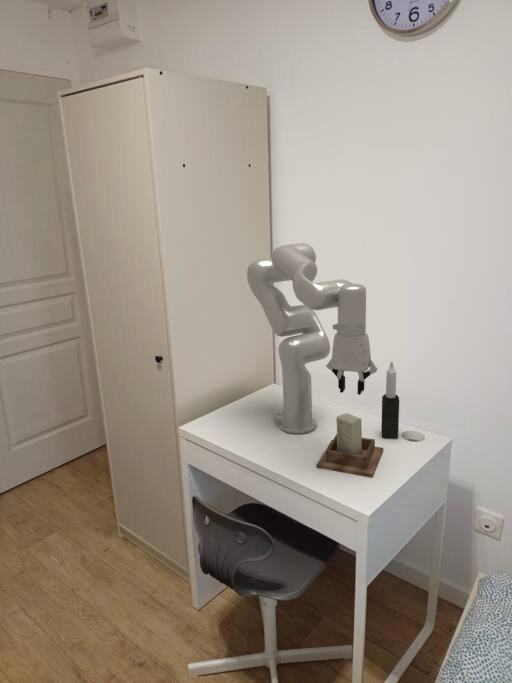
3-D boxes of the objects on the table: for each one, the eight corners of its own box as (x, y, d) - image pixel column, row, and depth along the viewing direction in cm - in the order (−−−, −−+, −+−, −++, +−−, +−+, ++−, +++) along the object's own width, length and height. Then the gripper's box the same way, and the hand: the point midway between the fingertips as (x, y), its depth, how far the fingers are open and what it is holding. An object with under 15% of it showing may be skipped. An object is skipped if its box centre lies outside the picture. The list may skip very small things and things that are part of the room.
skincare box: (362, 457, 146) (362, 418, 143) (351, 462, 144) (352, 423, 140) (346, 449, 151) (346, 412, 148) (335, 454, 149) (335, 416, 145)
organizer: (316, 467, 144) (316, 453, 143) (331, 442, 158) (331, 429, 157) (372, 477, 137) (372, 462, 136) (383, 450, 151) (383, 437, 150)
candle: (398, 439, 158) (400, 364, 151) (381, 438, 159) (383, 363, 152) (397, 432, 163) (399, 358, 156) (381, 431, 164) (382, 358, 157)
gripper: (317, 331, 137) (318, 393, 142) (380, 335, 130) (378, 400, 135) (325, 324, 143) (326, 384, 148) (385, 328, 137) (383, 390, 142)
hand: (351, 391), depth 142 cm, fingers open, 4 cm apart
